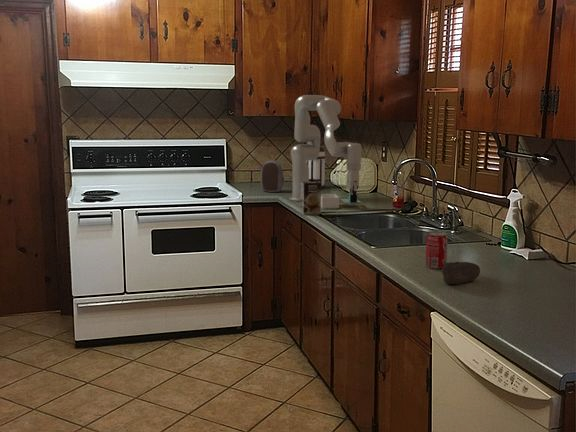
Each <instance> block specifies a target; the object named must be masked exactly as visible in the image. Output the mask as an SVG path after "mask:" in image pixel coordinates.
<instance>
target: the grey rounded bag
mask: <svg viewBox="0 0 576 432" xmlns="http://www.w3.org/2000/svg"><path fill="white" fill-rule="evenodd" d="M284 184H285V177H284V171H283V167H282V164H280V163H279V162H278V161H276V160H273V159H270V160H266V161H265V162H264V163H263V165H262V166H261V170H260V185H261V189H262V191H263V192H267V193H279V192H281V191H282V190H283V186H284Z"/></svg>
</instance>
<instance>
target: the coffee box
mask: <svg viewBox="0 0 576 432" xmlns="http://www.w3.org/2000/svg"><path fill="white" fill-rule="evenodd" d="M321 194H322V189H321V183H320V182H301V201H300V207H299V210H300V214H302V215H303V216H308V215H309V216H311V215H313V216H314V215H321V213H322V212H321V209H322V208H321Z"/></svg>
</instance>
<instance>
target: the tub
mask: <svg viewBox="0 0 576 432" xmlns="http://www.w3.org/2000/svg"><path fill="white" fill-rule="evenodd" d="M339 199H340V197H339V196H338V195H337V194H336V193H321V209H322V210H332V209H333V210H335V209H336V210H337V208H339V209H340V207H339V203H340V200H339Z"/></svg>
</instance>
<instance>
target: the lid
mask: <svg viewBox="0 0 576 432" xmlns="http://www.w3.org/2000/svg"><path fill="white" fill-rule="evenodd" d="M357 196H358V192H357ZM339 202H341V203H343V204H349V205H357V204H359V205H361V204H362V201H360V200H359V199H358V198H357V202H356V203H351V193H349V192H348V198H339Z"/></svg>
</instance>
